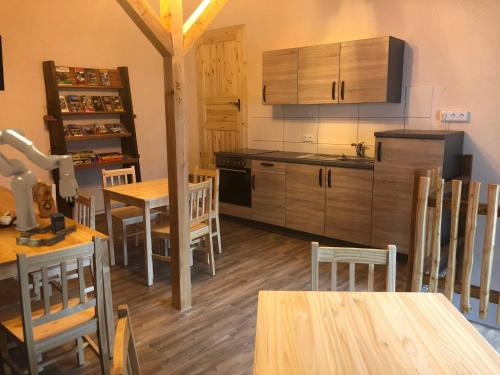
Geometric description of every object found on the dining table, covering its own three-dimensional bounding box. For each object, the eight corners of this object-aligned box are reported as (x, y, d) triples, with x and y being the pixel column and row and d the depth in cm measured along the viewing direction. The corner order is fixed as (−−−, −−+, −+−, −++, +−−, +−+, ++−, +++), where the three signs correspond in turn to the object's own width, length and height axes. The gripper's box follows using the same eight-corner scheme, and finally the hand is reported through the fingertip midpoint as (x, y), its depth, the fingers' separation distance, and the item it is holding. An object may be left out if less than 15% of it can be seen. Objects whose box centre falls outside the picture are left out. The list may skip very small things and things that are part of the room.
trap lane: (9, 243, 220) (8, 237, 219) (48, 228, 245) (47, 222, 245) (46, 247, 213) (45, 241, 213) (82, 231, 239) (81, 225, 238)
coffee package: (40, 219, 264) (36, 184, 259) (38, 214, 274) (34, 181, 270) (57, 216, 269) (53, 183, 264) (55, 212, 279) (51, 179, 275)
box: (66, 233, 236) (64, 215, 234) (55, 235, 233) (53, 217, 230) (62, 230, 242) (60, 212, 240) (51, 232, 239) (49, 214, 236)
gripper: (52, 177, 240) (56, 208, 244) (73, 178, 236) (78, 209, 239) (61, 175, 247) (65, 205, 251) (82, 175, 243) (86, 206, 246)
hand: (71, 207), depth 245 cm, fingers closed
